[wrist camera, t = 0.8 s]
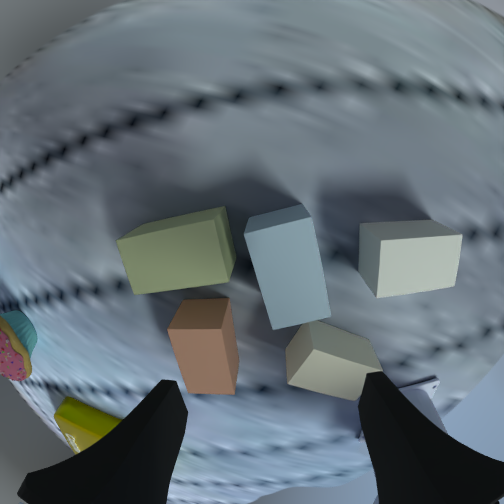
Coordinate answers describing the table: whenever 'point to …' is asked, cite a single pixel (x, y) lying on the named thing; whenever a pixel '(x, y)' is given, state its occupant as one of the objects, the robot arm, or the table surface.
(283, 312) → the blue brick
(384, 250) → the grey brick
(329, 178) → the table surface
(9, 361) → the cupcake
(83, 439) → the element tile
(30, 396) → the table surface
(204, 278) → the olive brick
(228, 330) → the terracotta brick
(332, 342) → the cream brick
